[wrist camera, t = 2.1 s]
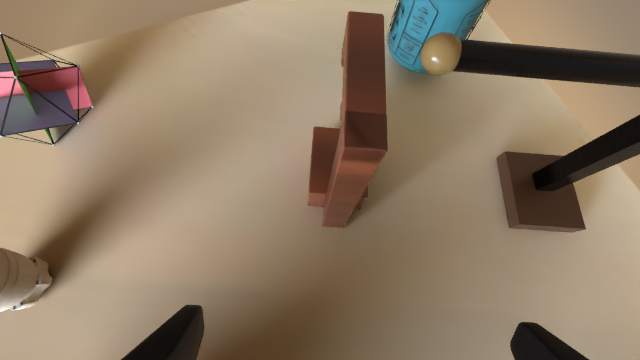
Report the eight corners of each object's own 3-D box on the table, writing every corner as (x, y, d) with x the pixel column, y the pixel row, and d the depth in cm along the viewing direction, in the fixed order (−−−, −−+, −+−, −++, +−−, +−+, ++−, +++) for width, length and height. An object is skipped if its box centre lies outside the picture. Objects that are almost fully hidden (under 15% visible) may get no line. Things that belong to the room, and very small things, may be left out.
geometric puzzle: (98, 46, 25) (-55, -9, 18) (127, 106, 23) (-33, 71, 16) (64, 107, 27) (-80, 80, 20) (88, 165, 25) (-64, 158, 18)
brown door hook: (359, 229, 22) (421, 153, 11) (306, 225, 22) (309, 144, 11) (360, 148, 25) (410, 15, 13) (312, 144, 25) (320, 7, 13)
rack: (572, 232, 23) (910, 149, 10) (362, 217, 23) (440, 111, 10) (554, 162, 25) (812, 21, 12) (363, 147, 25) (426, -15, 12)
